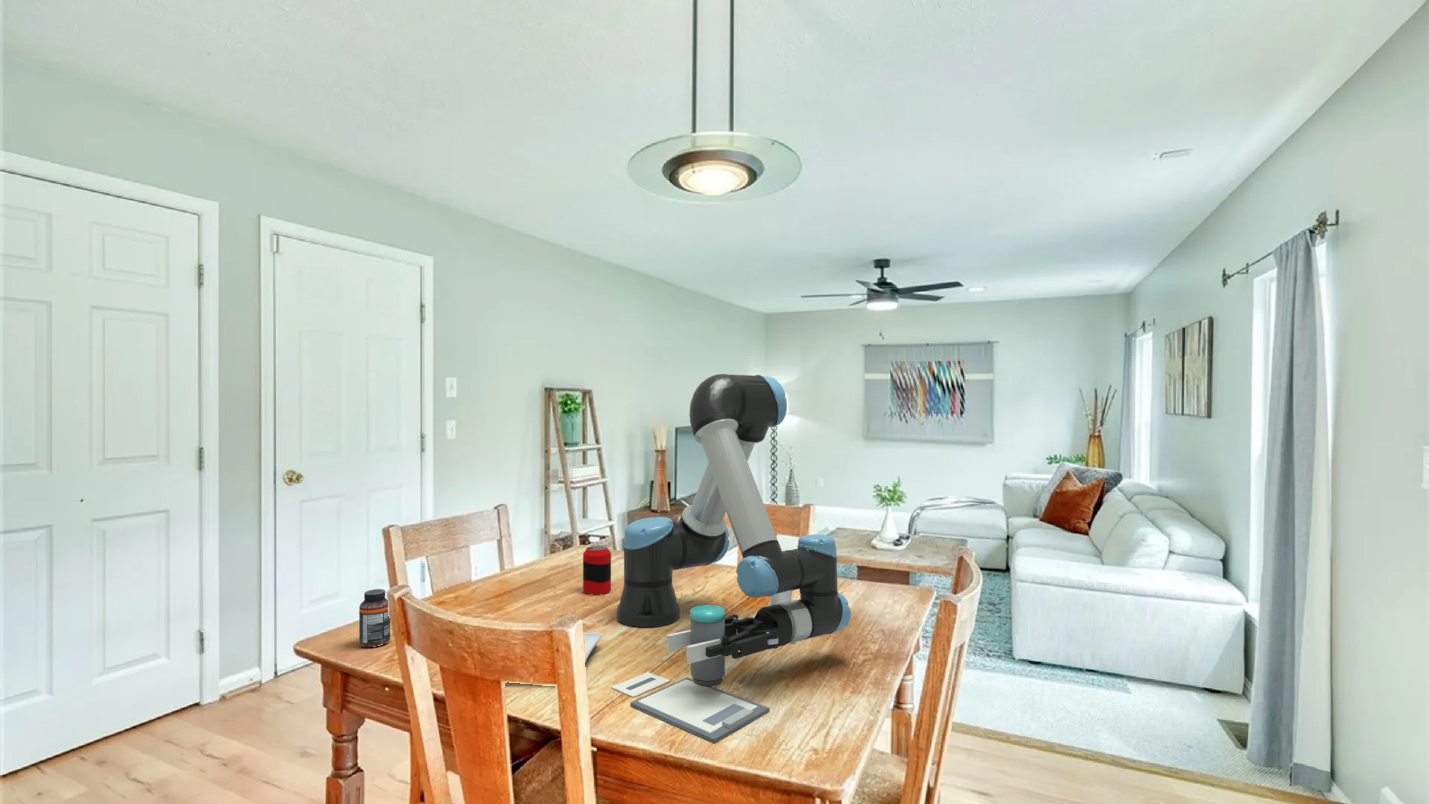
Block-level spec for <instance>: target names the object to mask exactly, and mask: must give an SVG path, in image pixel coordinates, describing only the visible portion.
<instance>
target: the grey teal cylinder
mask: <svg viewBox="0 0 1429 804" xmlns="http://www.w3.org/2000/svg"><path fill="white" fill-rule="evenodd" d="M725 611H726V609H725V608H724V607H721V606H719V605H715V604H714V605H712V604H704V605H697V606H694V607H692V608H690V611H689V613H690V614H689V615H690V616H689V617H690V630H691V645H694V644H698V643H702V642H706V641H711V640H715V639H720V640H721V644H722V643H723V636H725V618H726V612H725ZM725 657H726V656H723V655H721V656H717V657H713V658H709V659H706V660H702V661H698V662H694V663H690V676H691V677H692V679H693V682H694V683H695V684H696V685H699V686H704V687H711V686H712V687H716V686H719V685H721V684H722V683H723V679H724V677H725V675H726V667H725V666H726V664H725V663H726V662H725V661H726V660H725V659H726V658H725Z"/></svg>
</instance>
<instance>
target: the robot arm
mask: <svg viewBox="0 0 1429 804" xmlns="http://www.w3.org/2000/svg"><path fill="white" fill-rule="evenodd" d="M787 401H788V400H787V397H786V393H785V389H784V388H783V386H782V384H781V383H780V382H779V381H778V380H777V379H775V378H774V377H771V376H768V375H767V376H766V375H761V374H755V375H752V374H751V375H748V374H727V373H720V374H714V375H711V376H709V377H707V378H706V379H705V380H703V381H701V383H699V385H698V386H697V387H696V389H695V391H694V392H693V395H692V398H691V400H690V404H689V413H688V414H689V424H690V427H691V431H692V435H693V437H694V440H695V441H696V442H697V444H700V445H701V446H702V448H703V450H704V453H705V456H706V459H707V464H706V468H705V470H704V473H703V475H702V477H701V481H700V483H699V486H698V488H697V491H696V493H695V495H694V499H693V501H692V504H690V505H688V506H686V507H685V508H684V509H683V511H682V513H681V515H680V519H678V520H677V521H673V520H672V519H671V518H669V517H666V516H656V517H646V518H641V519H638V520H635V521H632V522H630V523H629V524H628V525H627V526H626V528H625V529H624V535H623V537H624V539H623V587H622V588H623V589H622V592H621V596H620V600H619V604H618V605H617V608H616V621H618V622H619V623H621V624H623V625H626V626H631V627H636V628H637V627H638V628H651V627H653V628H654V627H660V626H665V625H669V624H672V623H675V622H677V621H678V620H679V619H680V605H679V603H678V599H677V597H676V593H675V589H674V586H673V585H674V584H673V571H678V570H682V569H689V568H696V567H705V566H709V565H712V564H714V563H717V562H719V561H721V560H722V559H723V558H724V556H725V555H726V553H727V551H729V546H730V540H729V537H730V531H729V528H728V526H727V522H726V521H727V520H726V519H725V517H726V514H727V517H728V520H729V523H730V526H731V528H732V530H733V531H732V532H733V535H734V537H735V539H736V542H737V545H738V547H739V550H740V554H741V556H742V559H741V560H739V562H738V564H737V566H736V572H735V573H736V574H737V578H736V581H737V585H738V587H739V589H740V591H741V592H742V593H743V594H744V595H746V596H747V597H750V598H753V599H754V598H763V597H770V596H773V595H774V594H778V593H782V592H786V591H791V590H792V591H796V590H799V596H800V597H799V598H800V599H793V600H791V601H788V602H784V603H780V604H777V605H771V606H769V605H767V606H763V607H761V608H759V609H758V610H757V612H756V614H755V616H754V617H752V616H749V617H745V618H742V619H739V616H738V614H732V615H729V616H725V636H723V643H722V644H721V640H720V639H715V640H711V641H706V642H702V643H698V644H694V645H691V629H688V630H683V631H679V632H674V633H670V634H666V651H667V652H673V651H677V650H681V649H686V663H687V664H689V665H691V663H694V662H698V661H702V660H706V659H709V658H713V657H717V656H721V655H723V656H725V657H729V656H731V659H733V660H734V659H735V660H736V659H741V658H744V657H747V656H750V655H753V654H756V653H759V652H760V653H761V652H762V651H767V650H772V649H779V648H780V647H783V646H786V645H789V644H791V645H796V643H798V642H801V641H805V640H809V639H812V638H818V637H822V636H827V635H828V636H829V635H831V634H833V633H837V632H839V631H841V630H844V629H845V628H846V627H847V626H848V625H849V623H850V621H851V617H852V613H851V611H852V610H851V607H850V606H849V601H848V599H847V598H846V597H845V595H843V593H840V592H839V591H838V562H837V561H838V555H837V547H836V545H837V544H836V540H835V539H834V537H832V536H830V535H825V534H806V535H803V536H800V537H799V538H798V543H797V545H796V546H797V547H796V548H794V549H786V550H787V551H782V550H783V549H782V547H781V545H780V542H779V540H778V537H777V536H776V535H777V534H776V533H775V530H774V528H773V525H772V522H771V519H770V516H769V513H768V512H767V509H766V507H765V503H764V501H763V499H762V496H761V494H760V491H759V488H758V486H757V484H756V480H755V477H754V475H753V473H752V470H751V467H750V465H749V462H748V461H749V460H750V457H751V454H752V451H753V449H754V447H755V445H756V444H759V443H761V442H763V441H764V440H765V438H766V435H767V432H768V431H769V429H770V428H775V427H777V426H779V425H780V424H781V423H783V421H784V419H785V418H786V414H787V410H788V403H787Z"/></svg>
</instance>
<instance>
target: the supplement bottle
mask: <svg viewBox="0 0 1429 804" xmlns="http://www.w3.org/2000/svg"><path fill="white" fill-rule="evenodd" d="M363 598H364V600H363V601H362V602H361V603H360V604H359V608H358V609H359V610H358V611H359V612H358V614H359V615H358V617H359V619H358V622H359V624H358V625H359V627H358V628H359V631H358V632H359V635H358V637H359V638H358V640H359V646H360V645H361V646H360V647H362V646H363V647H362V648H365V647H373V646H378V645H381V644H385V643H386V642H388V641H389V640H391V617H390V618H389V616H388V600H389V599H388V600H387V598H386V590H385V589H383V588H376V589H375V588H374V589H369V590H366V591H365V592H364V597H363ZM389 642H390V641H389ZM389 642H388V643H389ZM385 645H386V644H385Z"/></svg>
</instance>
